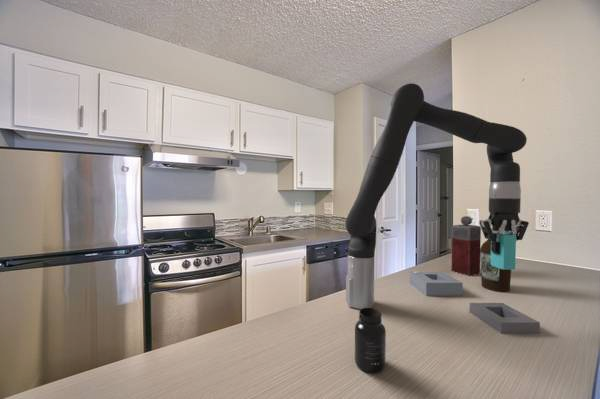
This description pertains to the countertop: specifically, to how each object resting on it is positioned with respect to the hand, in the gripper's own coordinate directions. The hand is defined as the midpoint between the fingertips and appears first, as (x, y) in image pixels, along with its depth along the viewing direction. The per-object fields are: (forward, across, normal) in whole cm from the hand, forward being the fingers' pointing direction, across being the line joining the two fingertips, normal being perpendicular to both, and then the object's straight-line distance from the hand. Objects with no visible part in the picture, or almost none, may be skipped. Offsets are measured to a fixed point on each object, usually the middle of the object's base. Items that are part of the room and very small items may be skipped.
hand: (502, 253), depth 78 cm
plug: (+4, 0, 0) cm, 4 cm away
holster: (+21, 0, 0) cm, 21 cm away
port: (+21, -6, +27) cm, 35 cm away
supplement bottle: (+21, -46, -19) cm, 54 cm away
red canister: (+21, +23, +50) cm, 59 cm away
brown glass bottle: (+21, +20, +28) cm, 40 cm away
